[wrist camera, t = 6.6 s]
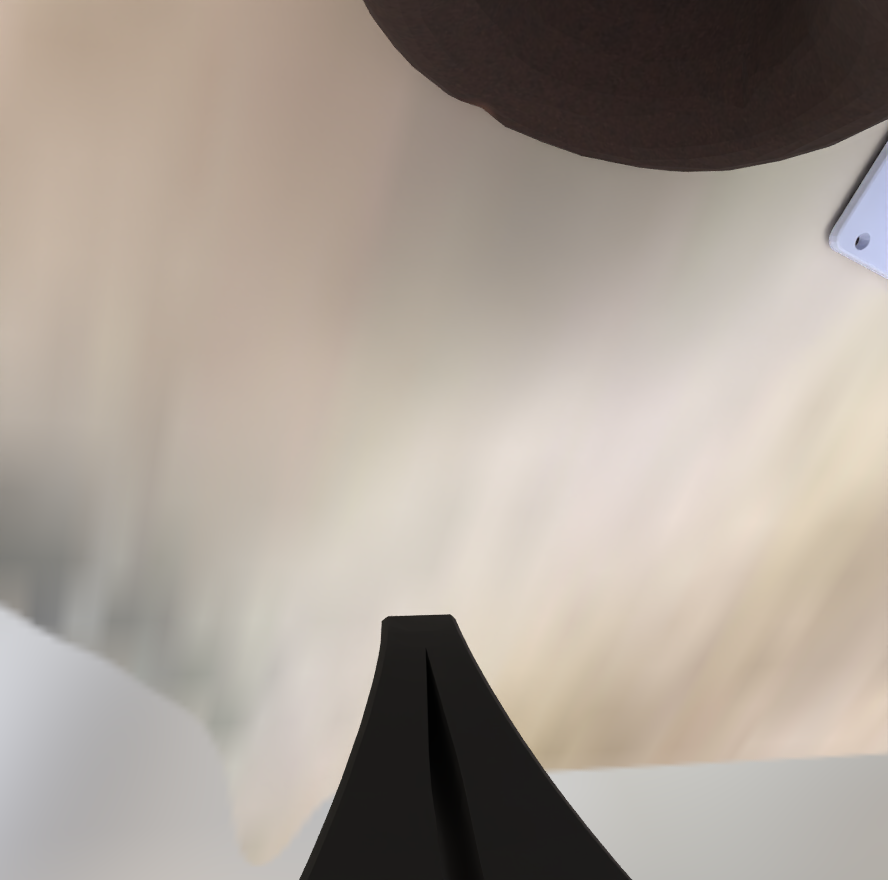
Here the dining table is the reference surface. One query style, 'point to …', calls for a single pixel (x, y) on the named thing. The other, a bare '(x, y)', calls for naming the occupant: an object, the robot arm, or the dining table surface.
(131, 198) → the dining table surface
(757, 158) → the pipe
